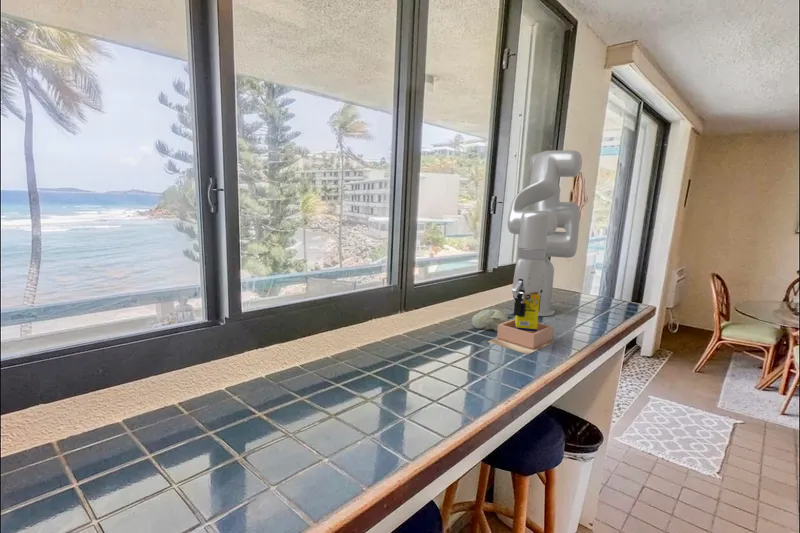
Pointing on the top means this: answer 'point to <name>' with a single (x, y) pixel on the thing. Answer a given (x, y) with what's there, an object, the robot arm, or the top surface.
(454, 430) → the top surface
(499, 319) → the seashell
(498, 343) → the beech board
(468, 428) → the top surface
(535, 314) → the supplement box
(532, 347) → the pink open box
